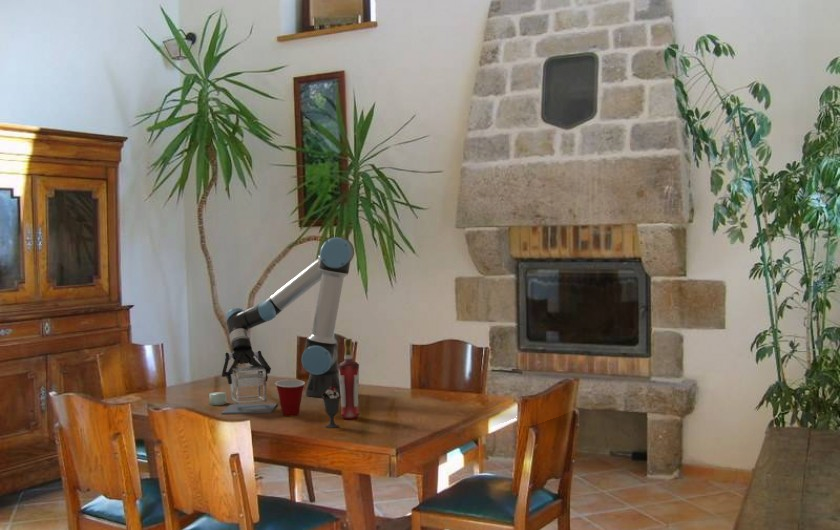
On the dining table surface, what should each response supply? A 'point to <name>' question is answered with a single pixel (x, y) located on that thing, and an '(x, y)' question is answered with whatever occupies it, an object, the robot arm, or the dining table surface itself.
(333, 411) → the sundae
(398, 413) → the dining table surface
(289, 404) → the plastic cup
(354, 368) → the liquor
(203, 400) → the dining table surface
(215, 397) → the soap bar
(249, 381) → the clear glass cube
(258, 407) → the mat
